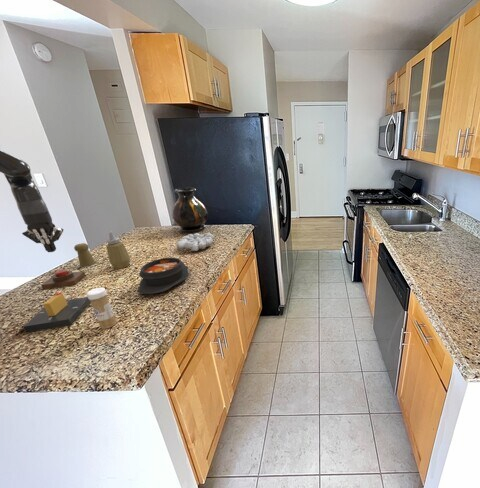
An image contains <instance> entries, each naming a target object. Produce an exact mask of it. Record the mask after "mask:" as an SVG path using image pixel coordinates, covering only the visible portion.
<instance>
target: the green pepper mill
mask: <svg viewBox="0 0 480 488" xmlns="http://www.w3.org/2000/svg"><path fill="white" fill-rule="evenodd" d="M89 248H90V247H89V244H88V243H86V242H82V243H78V244H75V245H74V246H73V249H74V250H75V252H76V253H77V258H78V261H79V262H78V263H79V267H81V268H86V267H90V266H91V267H92V266H94V265H96V264H97V262H96V260H95V259H94V257H93V255H92V253H91V252H90V250H89Z"/></svg>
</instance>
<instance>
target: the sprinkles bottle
mask: <svg viewBox="0 0 480 488" xmlns="http://www.w3.org/2000/svg"><path fill="white" fill-rule="evenodd" d="M107 295H108V293H107V290H106V288H105V287H96V288H93V289H90V290H89V291H87V292H86V297H88V299H89V300H90V302H91V303H90V304H91V306H92V310H93V312H94V315H95V317H96V320H97V321H98V324H99V328H100V329H102V330H105V329H109V328H113V327H114V326H115V325H116V324H117V322H118V321H117V318H116V316H115V313H114V310H113V308H112V304H111V302H110V300H109V298H108V297H109V296H107Z"/></svg>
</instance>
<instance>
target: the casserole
mask: <svg viewBox="0 0 480 488" xmlns="http://www.w3.org/2000/svg"><path fill="white" fill-rule="evenodd" d="M189 274H190V273H189V266H188V265H186V264H185V263H184V262H183V261H182V260H181V259H180V258H178V257H164V258H159V259H155V260H151V261H149V262H147V263H145V264H144V265H142V266H141V268H140V271H139V274H138V276H139V277H140V278H141V280H140V282H139V287H138V288H137V293H139V294H144V295H152V294H153V295H154V294H159V293H164V292H167V291H169V290H170V289H171V288H172V287H175V286H176V285H179V284H180V283H182V282H183V281H184V280H186V279H187V278H188V277H189Z"/></svg>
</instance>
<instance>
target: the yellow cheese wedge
mask: <svg viewBox="0 0 480 488" xmlns="http://www.w3.org/2000/svg"><path fill="white" fill-rule="evenodd" d="M66 300H67V299H66V297H65V295H64V293H63V292H56V293H55V294H54V295H53V296H51V297H50V298H49V299H47V300H46V301H45V302H43V303H42V305H43V308H44V307H45V309H46V311H47V313H48V315H49V316H55V315H56V314H57V313H59V312H60V311H61V310H62V309H63V308H64V307H66V306H67V305H68V304H67V302H66Z"/></svg>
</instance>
